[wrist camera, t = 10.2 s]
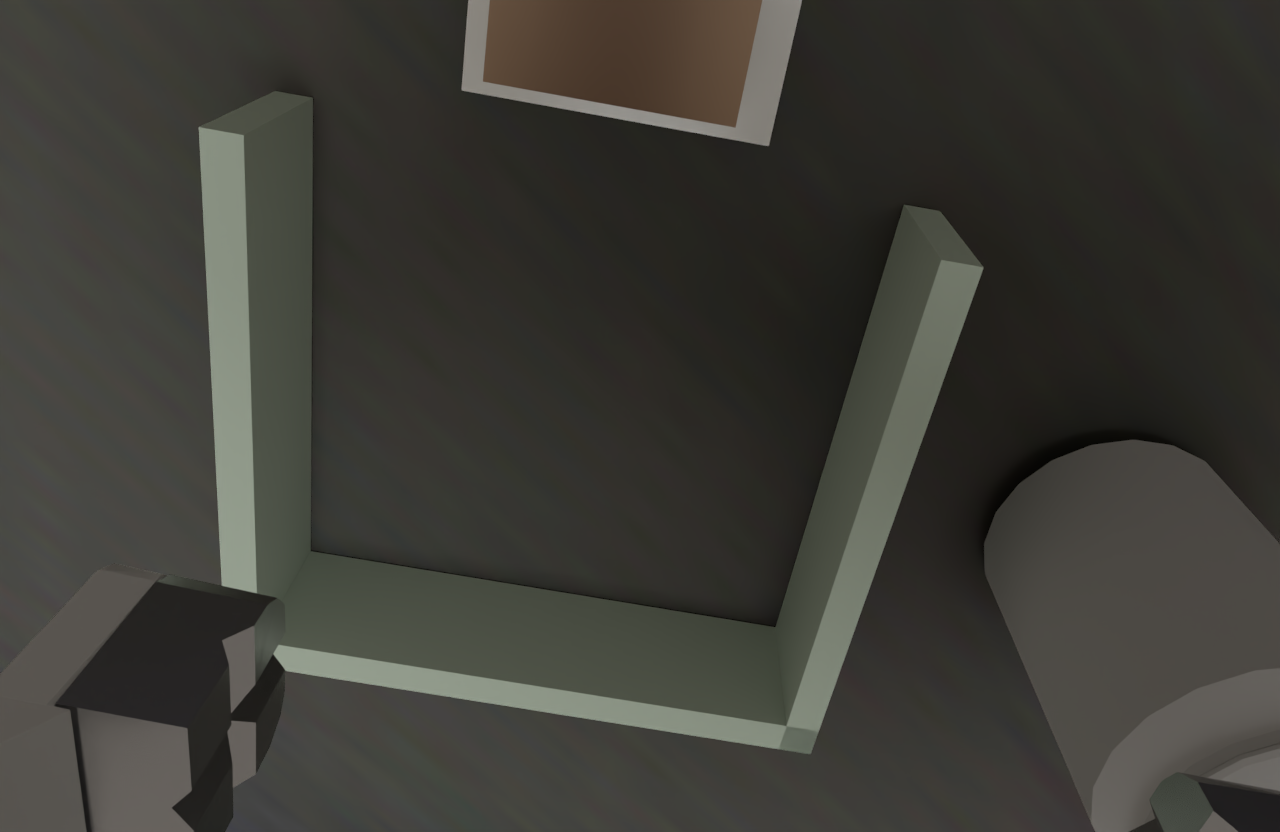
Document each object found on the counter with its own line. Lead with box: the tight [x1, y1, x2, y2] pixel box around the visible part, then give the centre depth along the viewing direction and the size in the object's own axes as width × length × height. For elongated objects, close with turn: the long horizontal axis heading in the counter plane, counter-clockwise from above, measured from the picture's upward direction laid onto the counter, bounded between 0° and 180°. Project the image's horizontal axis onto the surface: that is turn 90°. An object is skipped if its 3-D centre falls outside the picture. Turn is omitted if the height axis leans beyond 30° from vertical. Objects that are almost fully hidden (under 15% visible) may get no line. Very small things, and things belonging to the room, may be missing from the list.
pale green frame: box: [199, 91, 984, 754], centre depth 28 cm, size 18×16×4 cm
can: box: [984, 440, 1280, 832], centre depth 26 cm, size 8×8×12 cm
